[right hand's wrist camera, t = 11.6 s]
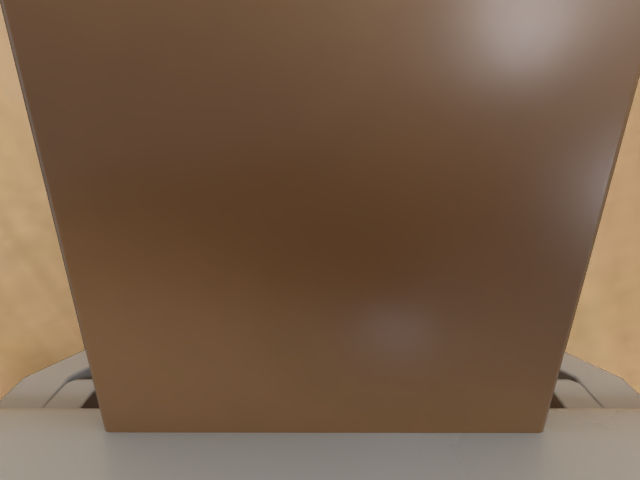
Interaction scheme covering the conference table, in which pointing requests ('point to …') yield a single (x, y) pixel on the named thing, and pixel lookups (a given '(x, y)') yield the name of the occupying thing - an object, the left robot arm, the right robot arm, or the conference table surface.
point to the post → (326, 202)
